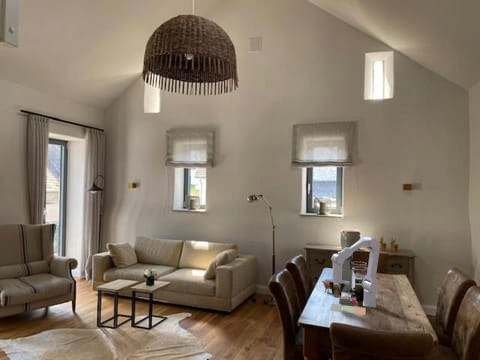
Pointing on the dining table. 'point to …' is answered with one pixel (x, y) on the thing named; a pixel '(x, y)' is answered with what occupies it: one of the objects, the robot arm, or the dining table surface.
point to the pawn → (336, 292)
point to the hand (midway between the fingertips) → (336, 295)
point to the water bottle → (347, 273)
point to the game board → (348, 309)
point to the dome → (345, 296)
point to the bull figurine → (328, 286)
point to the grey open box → (348, 301)
